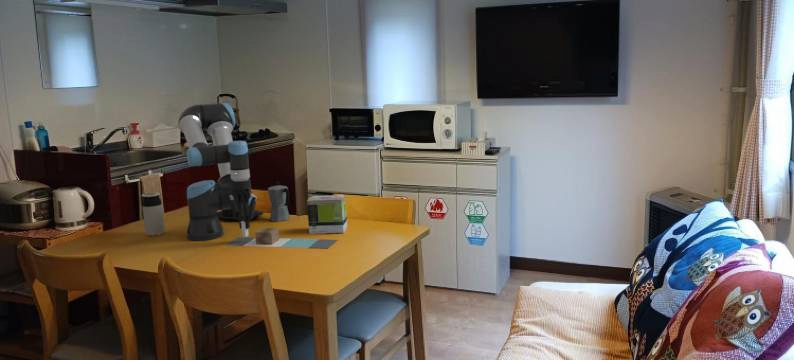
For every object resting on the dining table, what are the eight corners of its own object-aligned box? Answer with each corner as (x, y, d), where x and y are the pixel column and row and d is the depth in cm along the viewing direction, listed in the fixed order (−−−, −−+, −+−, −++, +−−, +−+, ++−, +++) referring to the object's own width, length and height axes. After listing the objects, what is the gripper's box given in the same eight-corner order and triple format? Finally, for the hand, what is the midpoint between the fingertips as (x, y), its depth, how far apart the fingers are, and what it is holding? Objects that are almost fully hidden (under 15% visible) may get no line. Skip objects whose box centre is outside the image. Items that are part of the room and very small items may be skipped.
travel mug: (149, 237, 284) (145, 196, 281) (142, 234, 290) (138, 194, 287) (167, 233, 289) (163, 193, 286) (160, 230, 295) (156, 191, 292)
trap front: (308, 249, 258) (308, 247, 258) (319, 240, 270) (319, 239, 270) (328, 249, 256) (327, 248, 256) (337, 241, 268) (337, 239, 268)
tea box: (347, 227, 287) (345, 194, 285) (343, 233, 277) (341, 199, 275) (313, 228, 289) (311, 195, 286) (308, 234, 279) (306, 200, 276)
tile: (243, 247, 265) (242, 245, 265) (256, 239, 276) (256, 237, 276) (280, 248, 261) (280, 246, 261) (291, 239, 272) (291, 238, 272)
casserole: (272, 214, 318) (270, 197, 316) (248, 224, 301) (247, 206, 300) (230, 211, 328) (228, 195, 326) (205, 220, 311) (203, 203, 310)
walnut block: (256, 244, 266) (255, 232, 265) (263, 239, 273) (262, 227, 272) (272, 244, 264) (271, 232, 263) (279, 239, 271) (278, 228, 270)
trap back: (224, 246, 267) (224, 245, 267) (238, 238, 278) (238, 237, 278) (243, 247, 265) (242, 245, 265) (256, 239, 276) (256, 237, 276)
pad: (280, 248, 261) (280, 246, 261) (291, 239, 272) (291, 238, 272) (308, 249, 258) (308, 247, 258) (319, 240, 270) (319, 239, 270)
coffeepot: (263, 219, 309) (260, 181, 305) (280, 215, 315) (277, 178, 312) (282, 224, 298) (279, 185, 294) (299, 220, 304) (296, 182, 301)
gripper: (221, 181, 264) (226, 238, 268) (251, 181, 261) (256, 239, 265) (230, 177, 271) (235, 233, 275) (259, 177, 268) (264, 234, 272)
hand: (245, 236), depth 270 cm, fingers closed
